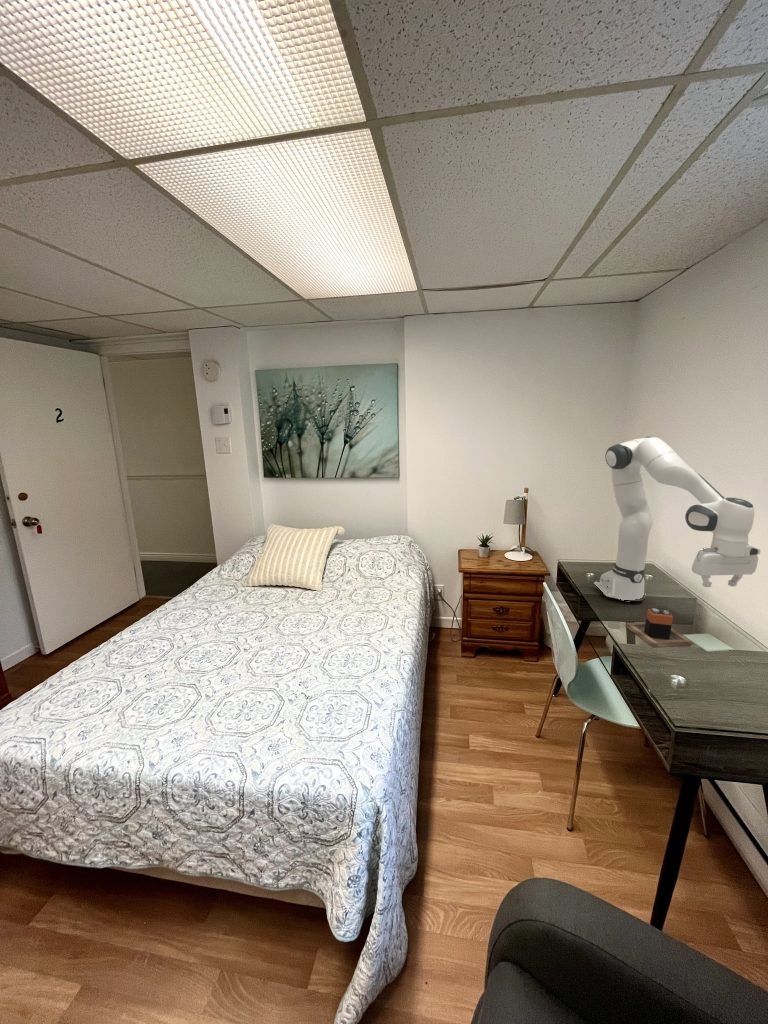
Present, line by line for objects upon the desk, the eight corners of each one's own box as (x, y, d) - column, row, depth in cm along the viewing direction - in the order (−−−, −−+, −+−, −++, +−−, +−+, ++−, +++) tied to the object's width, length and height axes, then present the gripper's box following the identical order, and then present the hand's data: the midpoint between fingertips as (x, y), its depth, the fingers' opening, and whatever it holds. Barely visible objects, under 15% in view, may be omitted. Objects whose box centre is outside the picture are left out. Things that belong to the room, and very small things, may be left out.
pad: (682, 636, 142) (682, 634, 142) (707, 634, 143) (708, 633, 143) (706, 651, 132) (707, 650, 132) (734, 650, 133) (734, 649, 133)
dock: (625, 626, 148) (626, 623, 148) (660, 625, 149) (660, 621, 149) (653, 647, 135) (654, 643, 134) (691, 645, 136) (692, 641, 136)
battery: (643, 631, 145) (647, 606, 143) (664, 633, 143) (669, 608, 141) (648, 637, 141) (652, 611, 139) (669, 639, 139) (674, 614, 137)
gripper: (707, 551, 125) (699, 591, 129) (765, 550, 127) (755, 589, 131) (691, 544, 132) (683, 583, 135) (746, 544, 134) (737, 581, 137)
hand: (719, 586), depth 133 cm, fingers open, 8 cm apart
